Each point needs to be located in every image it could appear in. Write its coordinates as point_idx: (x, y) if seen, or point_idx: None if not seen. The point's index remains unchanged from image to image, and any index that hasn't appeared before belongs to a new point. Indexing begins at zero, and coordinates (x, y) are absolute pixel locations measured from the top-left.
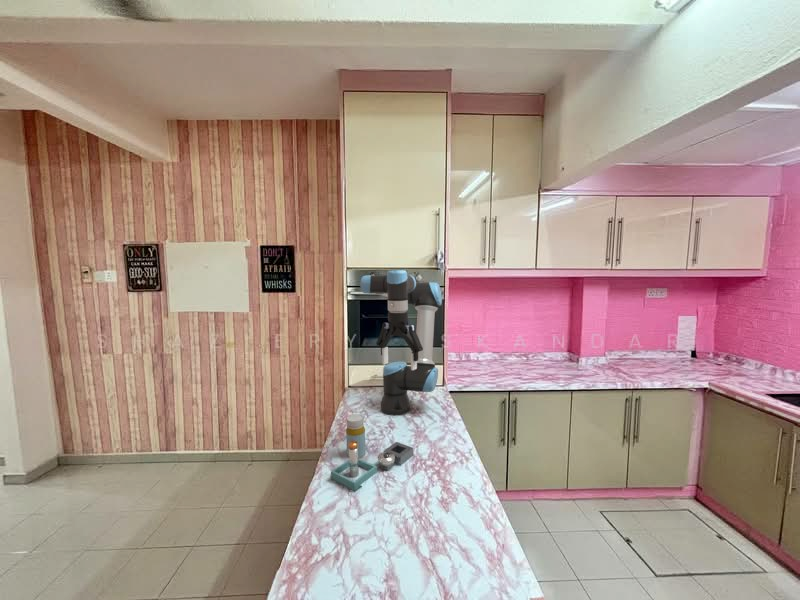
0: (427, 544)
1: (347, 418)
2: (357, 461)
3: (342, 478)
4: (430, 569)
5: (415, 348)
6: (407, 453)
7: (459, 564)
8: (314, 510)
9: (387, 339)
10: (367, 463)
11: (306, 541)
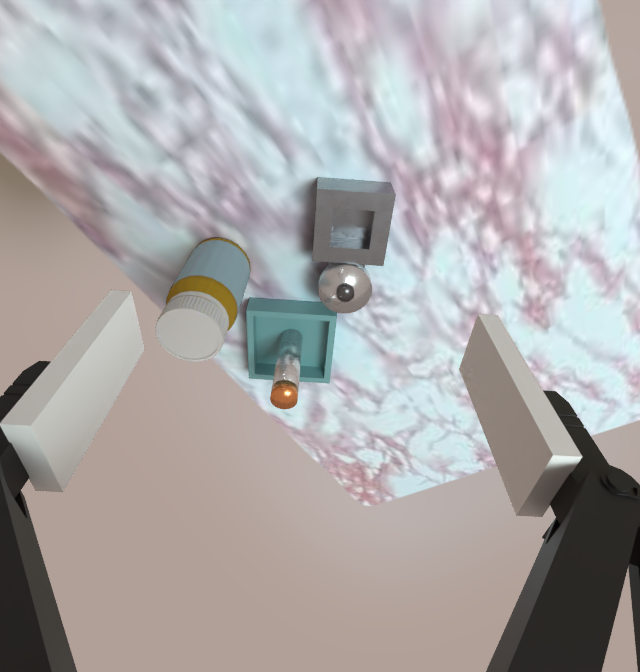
0: None
1: (171, 352)
2: (300, 363)
3: None
4: None
5: (597, 516)
6: (389, 228)
7: (582, 407)
8: (297, 427)
9: (67, 651)
10: (304, 317)
11: (338, 464)
